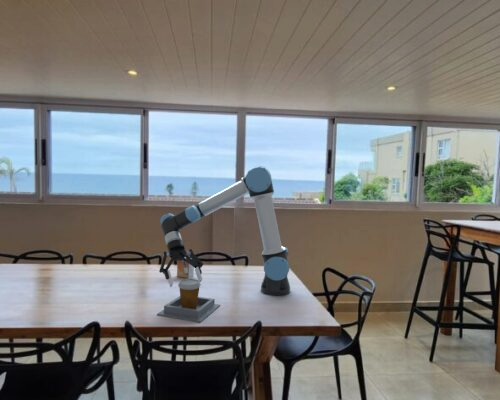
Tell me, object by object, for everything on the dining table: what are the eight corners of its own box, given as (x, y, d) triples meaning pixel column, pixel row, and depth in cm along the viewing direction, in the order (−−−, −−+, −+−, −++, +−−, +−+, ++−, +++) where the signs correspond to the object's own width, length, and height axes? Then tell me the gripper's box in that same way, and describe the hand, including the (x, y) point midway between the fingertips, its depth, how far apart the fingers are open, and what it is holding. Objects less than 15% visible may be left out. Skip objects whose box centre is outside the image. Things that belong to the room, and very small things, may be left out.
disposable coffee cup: (204, 307, 157) (204, 280, 156) (191, 314, 149) (192, 286, 148) (186, 303, 161) (186, 277, 160) (173, 310, 153) (173, 282, 152)
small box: (176, 276, 206) (177, 258, 205) (182, 274, 211) (182, 256, 210) (188, 278, 203) (189, 260, 202) (193, 275, 208) (194, 258, 207)
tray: (220, 305, 161) (220, 298, 161) (200, 322, 142) (200, 314, 142) (180, 299, 168) (180, 292, 167) (157, 315, 149) (157, 306, 148)
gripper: (196, 245, 177) (209, 283, 166) (146, 250, 164) (156, 291, 152) (201, 236, 173) (214, 274, 161) (150, 240, 159) (160, 282, 148)
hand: (186, 283), depth 157 cm, fingers open, 13 cm apart
